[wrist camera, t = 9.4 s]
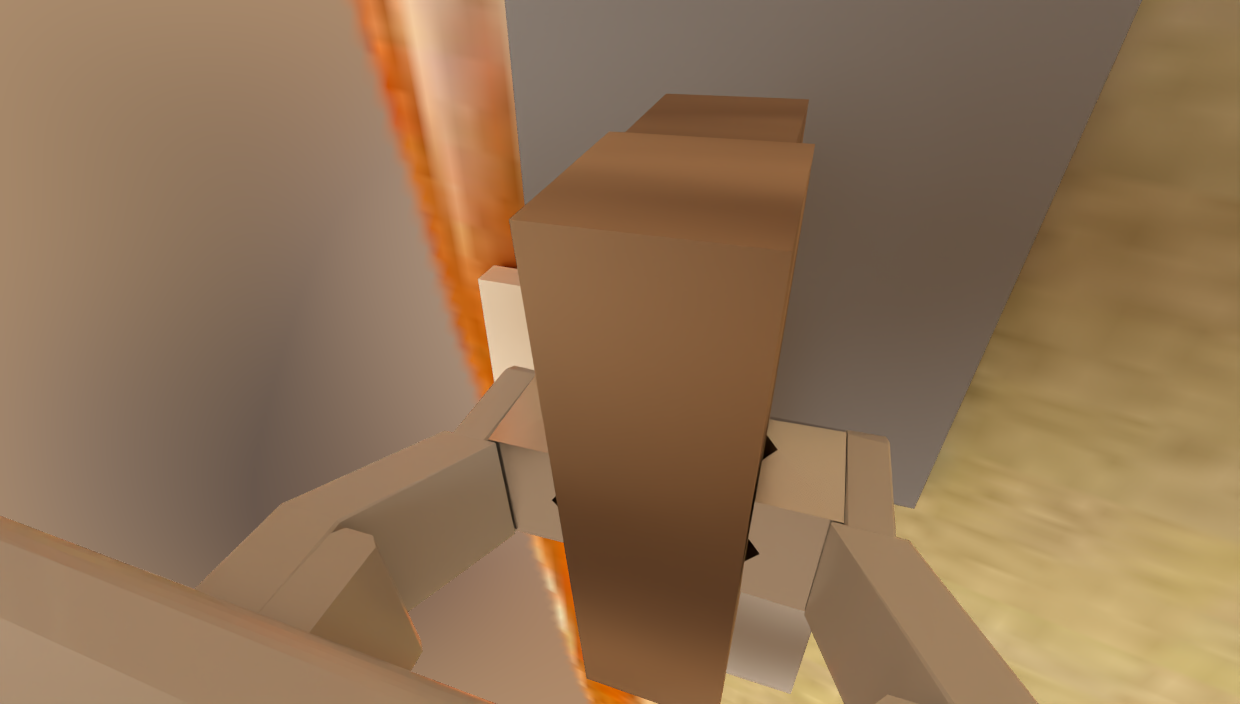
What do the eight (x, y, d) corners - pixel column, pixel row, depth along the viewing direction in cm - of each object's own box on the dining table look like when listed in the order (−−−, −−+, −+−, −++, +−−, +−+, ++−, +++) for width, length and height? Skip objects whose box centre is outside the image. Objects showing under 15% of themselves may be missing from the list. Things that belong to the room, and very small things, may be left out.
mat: (485, -296, 16) (475, -304, 15) (1308, -401, 11) (1328, -416, 11) (550, 416, 31) (546, 423, 30) (912, 498, 26) (914, 508, 25)
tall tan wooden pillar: (541, 88, 9) (341, 200, 5) (973, 106, 7) (1070, 282, 4) (601, 613, 18) (543, 770, 15) (792, 672, 17) (774, 864, 13)
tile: (645, 288, 24) (495, 264, 25) (635, 305, 22) (478, 279, 24) (642, 399, 27) (509, 371, 29) (632, 419, 26) (495, 389, 28)
